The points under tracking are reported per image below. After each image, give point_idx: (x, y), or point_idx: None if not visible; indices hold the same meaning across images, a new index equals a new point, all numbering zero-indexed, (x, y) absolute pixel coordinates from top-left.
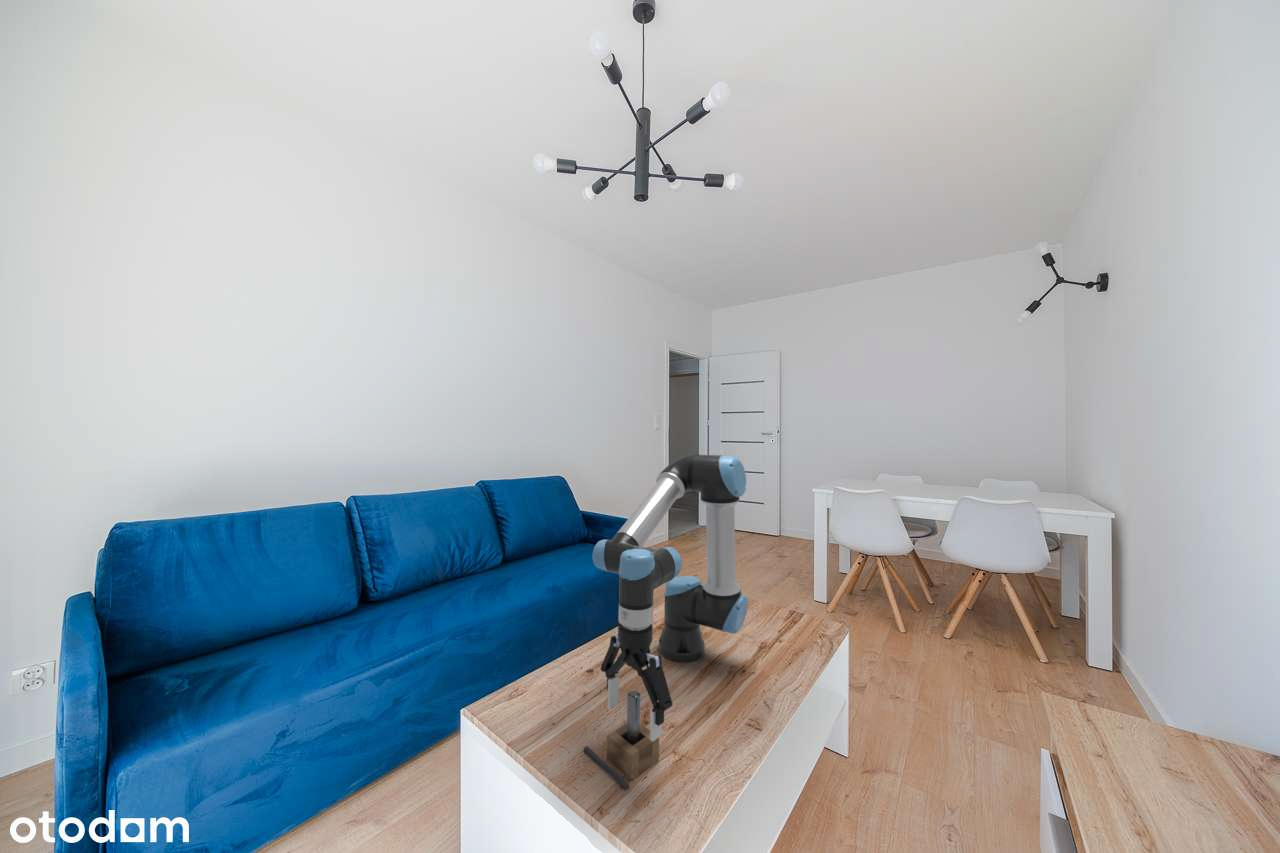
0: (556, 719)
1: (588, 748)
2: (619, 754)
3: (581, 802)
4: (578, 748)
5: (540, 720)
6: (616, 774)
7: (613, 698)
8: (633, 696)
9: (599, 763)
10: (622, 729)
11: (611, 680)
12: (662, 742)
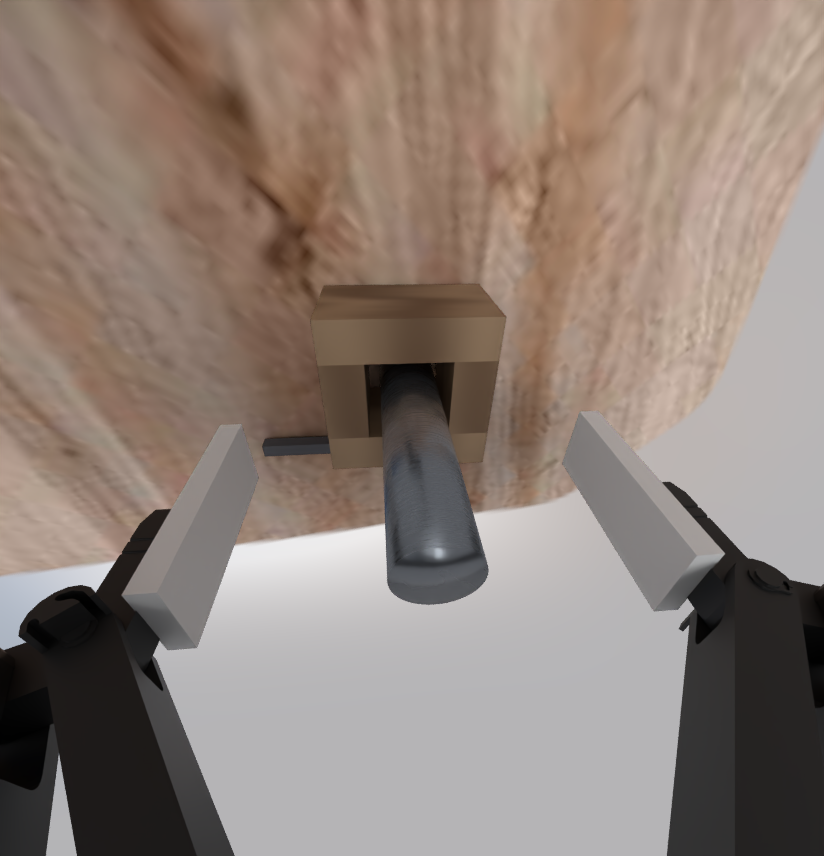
0: (43, 437)
1: (277, 448)
2: None
3: None
4: None
5: (34, 475)
6: None
7: (235, 496)
8: (448, 586)
9: None
10: (343, 410)
11: (194, 638)
12: (416, 171)
